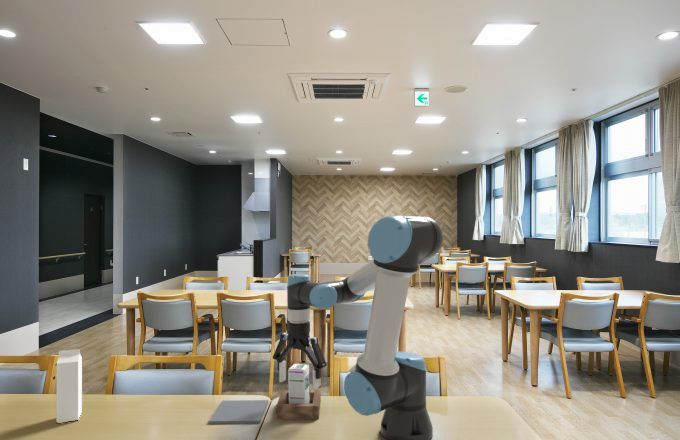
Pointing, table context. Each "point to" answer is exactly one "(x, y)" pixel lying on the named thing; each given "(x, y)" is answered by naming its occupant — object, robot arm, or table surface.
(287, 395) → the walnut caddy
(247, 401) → the charcoal mat
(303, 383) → the syrup box
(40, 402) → the table surface
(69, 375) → the milk
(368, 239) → the robot arm
